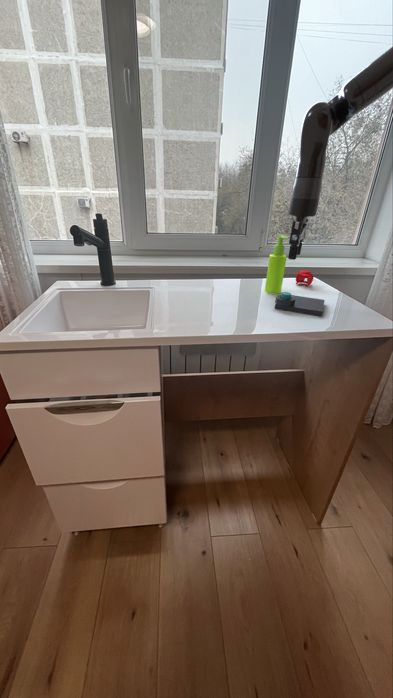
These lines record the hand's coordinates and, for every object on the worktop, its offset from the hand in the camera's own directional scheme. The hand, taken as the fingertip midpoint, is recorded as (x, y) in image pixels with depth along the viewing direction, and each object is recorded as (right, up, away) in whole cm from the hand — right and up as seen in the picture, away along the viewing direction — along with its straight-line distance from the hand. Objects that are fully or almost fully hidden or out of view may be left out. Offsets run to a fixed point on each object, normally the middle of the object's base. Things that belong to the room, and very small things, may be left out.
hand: (294, 256), depth 88 cm
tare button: (-2, -12, +3) cm, 13 cm away
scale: (+4, -14, +6) cm, 16 cm away
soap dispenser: (-1, -7, +19) cm, 21 cm away
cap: (+13, -3, +28) cm, 31 cm away
